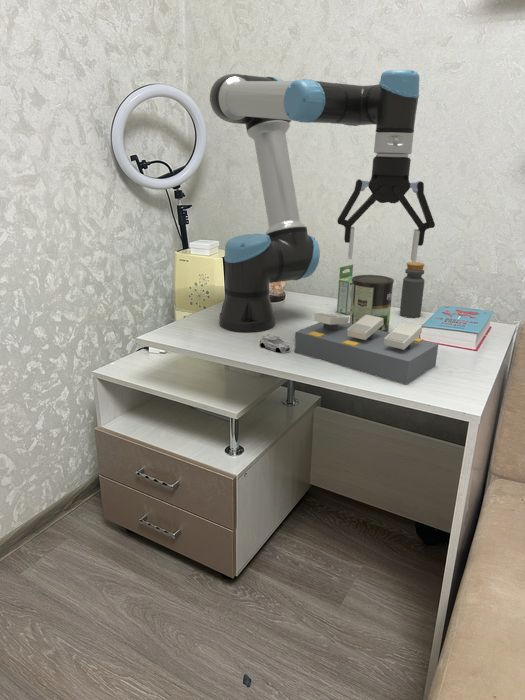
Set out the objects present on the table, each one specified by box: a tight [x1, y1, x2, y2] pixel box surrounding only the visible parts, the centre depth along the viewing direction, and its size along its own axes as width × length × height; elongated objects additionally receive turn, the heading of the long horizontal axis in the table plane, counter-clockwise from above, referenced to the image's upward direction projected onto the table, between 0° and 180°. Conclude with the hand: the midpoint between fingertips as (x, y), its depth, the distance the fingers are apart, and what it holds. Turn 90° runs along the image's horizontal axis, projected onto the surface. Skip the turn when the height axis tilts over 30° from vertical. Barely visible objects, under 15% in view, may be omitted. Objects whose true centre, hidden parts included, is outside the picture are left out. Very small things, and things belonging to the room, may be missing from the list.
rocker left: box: [313, 312, 350, 325], centre depth 122 cm, size 4×8×2 cm, turn 139°
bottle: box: [399, 261, 425, 319], centre depth 150 cm, size 6×6×15 cm
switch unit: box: [294, 322, 439, 386], centre depth 118 cm, size 28×14×6 cm, turn 49°
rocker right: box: [384, 321, 423, 350], centre depth 111 cm, size 4×8×2 cm, turn 139°
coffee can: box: [349, 274, 395, 332], centre depth 135 cm, size 10×10×14 cm
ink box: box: [336, 263, 355, 316], centre depth 153 cm, size 7×4×13 cm, turn 136°
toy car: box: [259, 333, 292, 354], centre depth 124 cm, size 4×8×3 cm, turn 48°
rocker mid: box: [347, 315, 384, 340], centre depth 116 cm, size 4×8×2 cm, turn 139°
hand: (381, 259), depth 115 cm, fingers open, 13 cm apart
